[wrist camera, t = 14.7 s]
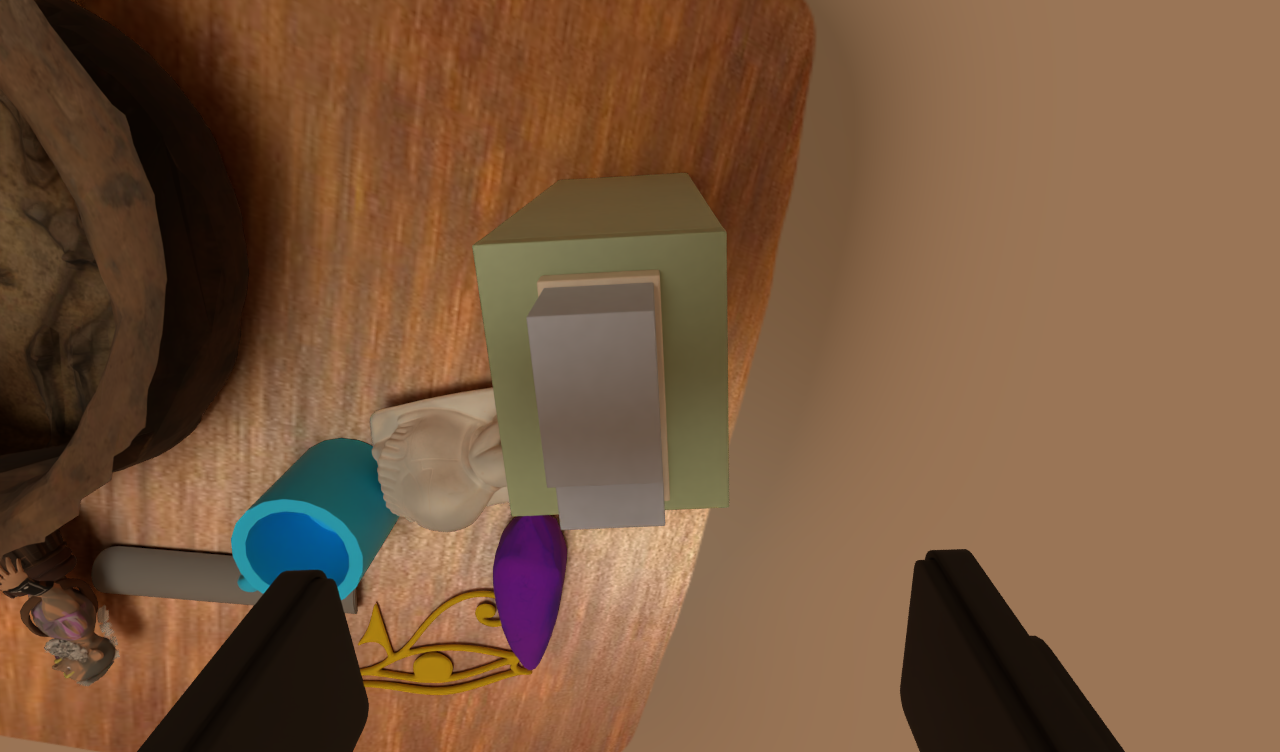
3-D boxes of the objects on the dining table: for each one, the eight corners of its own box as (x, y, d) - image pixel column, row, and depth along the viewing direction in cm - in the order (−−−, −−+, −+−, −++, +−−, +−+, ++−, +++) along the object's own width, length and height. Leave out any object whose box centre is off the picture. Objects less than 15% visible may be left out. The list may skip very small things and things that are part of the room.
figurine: (607, 382, 46) (598, 436, 39) (584, 523, 51) (573, 596, 43) (386, 348, 46) (333, 395, 38) (382, 493, 50) (333, 563, 42)
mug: (349, 417, 48) (293, 475, 40) (429, 497, 50) (390, 566, 43) (236, 504, 51) (163, 574, 43) (317, 577, 53) (261, 655, 45)
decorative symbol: (331, 601, 54) (365, 696, 57) (327, 607, 53) (362, 702, 57) (514, 585, 53) (537, 683, 56) (513, 591, 52) (536, 689, 56)
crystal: (557, 695, 51) (562, 532, 45) (493, 691, 51) (489, 527, 45) (565, 646, 56) (570, 491, 50) (505, 642, 56) (503, 487, 49)
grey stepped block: (540, 275, 22) (517, 309, 18) (659, 268, 22) (661, 302, 18) (564, 492, 25) (548, 563, 21) (669, 488, 24) (673, 558, 21)
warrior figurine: (-93, 493, 40) (77, 723, 45) (11, 451, 44) (159, 670, 48) (-82, 480, 49) (60, 676, 54) (4, 446, 52) (130, 633, 57)
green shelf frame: (572, 334, 45) (511, 517, 25) (557, 179, 42) (471, 245, 21) (692, 328, 45) (729, 508, 25) (687, 172, 42) (726, 231, 21)
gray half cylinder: (364, 609, 54) (355, 625, 52) (114, 588, 53) (96, 604, 52) (361, 565, 52) (352, 580, 51) (103, 543, 52) (85, 557, 50)
